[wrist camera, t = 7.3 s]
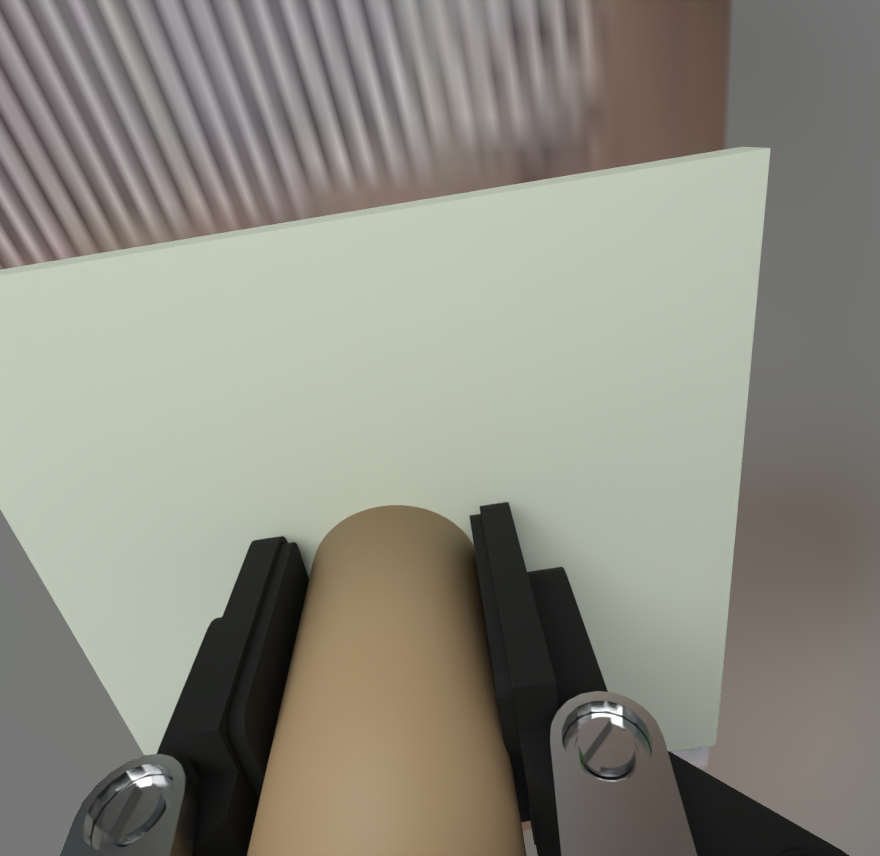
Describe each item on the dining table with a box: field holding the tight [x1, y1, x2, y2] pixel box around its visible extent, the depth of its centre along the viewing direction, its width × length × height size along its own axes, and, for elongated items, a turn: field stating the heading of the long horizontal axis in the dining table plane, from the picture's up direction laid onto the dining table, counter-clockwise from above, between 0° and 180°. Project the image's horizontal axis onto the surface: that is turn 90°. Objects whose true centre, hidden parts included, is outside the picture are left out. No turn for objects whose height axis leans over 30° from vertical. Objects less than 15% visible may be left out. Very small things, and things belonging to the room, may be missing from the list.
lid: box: [0, 147, 770, 856], centre depth 9 cm, size 13×13×7 cm
